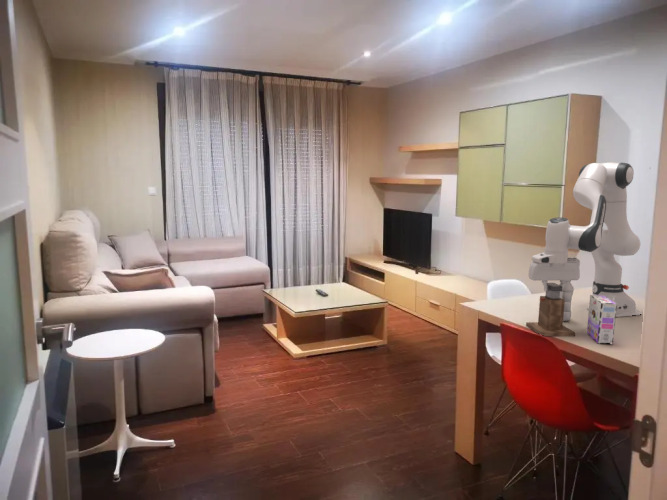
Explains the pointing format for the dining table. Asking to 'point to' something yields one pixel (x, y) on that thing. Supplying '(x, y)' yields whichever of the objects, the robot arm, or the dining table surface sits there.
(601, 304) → the candy box
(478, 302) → the dining table surface
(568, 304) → the plastic bottle
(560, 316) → the stand
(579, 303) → the dining table surface
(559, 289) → the column
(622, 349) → the dining table surface
